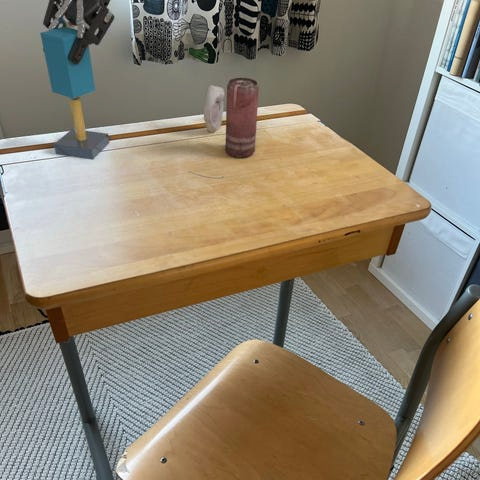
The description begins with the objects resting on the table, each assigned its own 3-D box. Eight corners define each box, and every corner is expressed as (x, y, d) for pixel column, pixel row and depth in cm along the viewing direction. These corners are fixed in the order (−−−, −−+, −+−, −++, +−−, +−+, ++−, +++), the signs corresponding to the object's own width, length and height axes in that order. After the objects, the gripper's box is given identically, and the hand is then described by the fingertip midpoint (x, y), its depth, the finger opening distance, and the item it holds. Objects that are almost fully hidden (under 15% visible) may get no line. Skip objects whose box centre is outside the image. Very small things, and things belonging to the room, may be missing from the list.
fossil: (211, 139, 111) (211, 91, 104) (198, 134, 112) (197, 87, 105) (226, 130, 114) (227, 83, 107) (213, 126, 116) (213, 79, 109)
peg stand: (55, 153, 102) (44, 102, 95) (73, 137, 108) (65, 88, 101) (93, 159, 101) (85, 108, 94) (109, 142, 107) (102, 93, 100)
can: (220, 156, 105) (222, 84, 95) (230, 144, 109) (233, 74, 100) (249, 161, 103) (253, 89, 94) (258, 149, 108) (262, 79, 98)
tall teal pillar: (74, 83, 100) (64, 26, 93) (95, 90, 98) (86, 32, 91) (52, 91, 96) (40, 32, 89) (73, 98, 94) (62, 38, 87)
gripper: (54, -52, 90) (16, 37, 91) (116, -42, 85) (75, 53, 85) (82, -21, 97) (46, 62, 98) (140, -9, 92) (102, 78, 92)
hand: (60, 57), depth 91 cm, fingers closed on tall teal pillar, 5 cm apart
